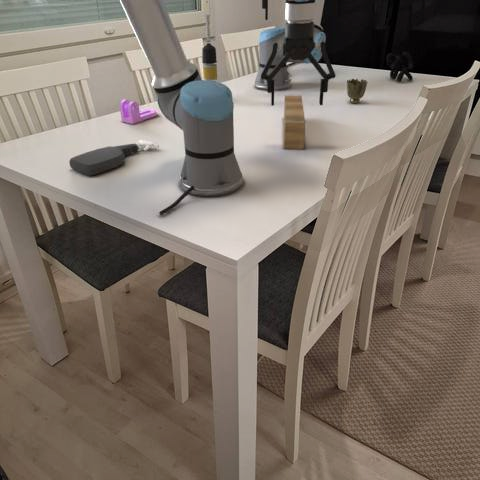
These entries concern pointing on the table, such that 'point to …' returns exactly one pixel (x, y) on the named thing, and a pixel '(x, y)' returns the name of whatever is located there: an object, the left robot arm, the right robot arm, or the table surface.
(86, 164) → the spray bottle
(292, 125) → the bar
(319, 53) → the right robot arm
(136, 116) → the bracket
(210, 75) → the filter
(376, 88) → the table surface
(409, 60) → the squiggle
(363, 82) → the cup
